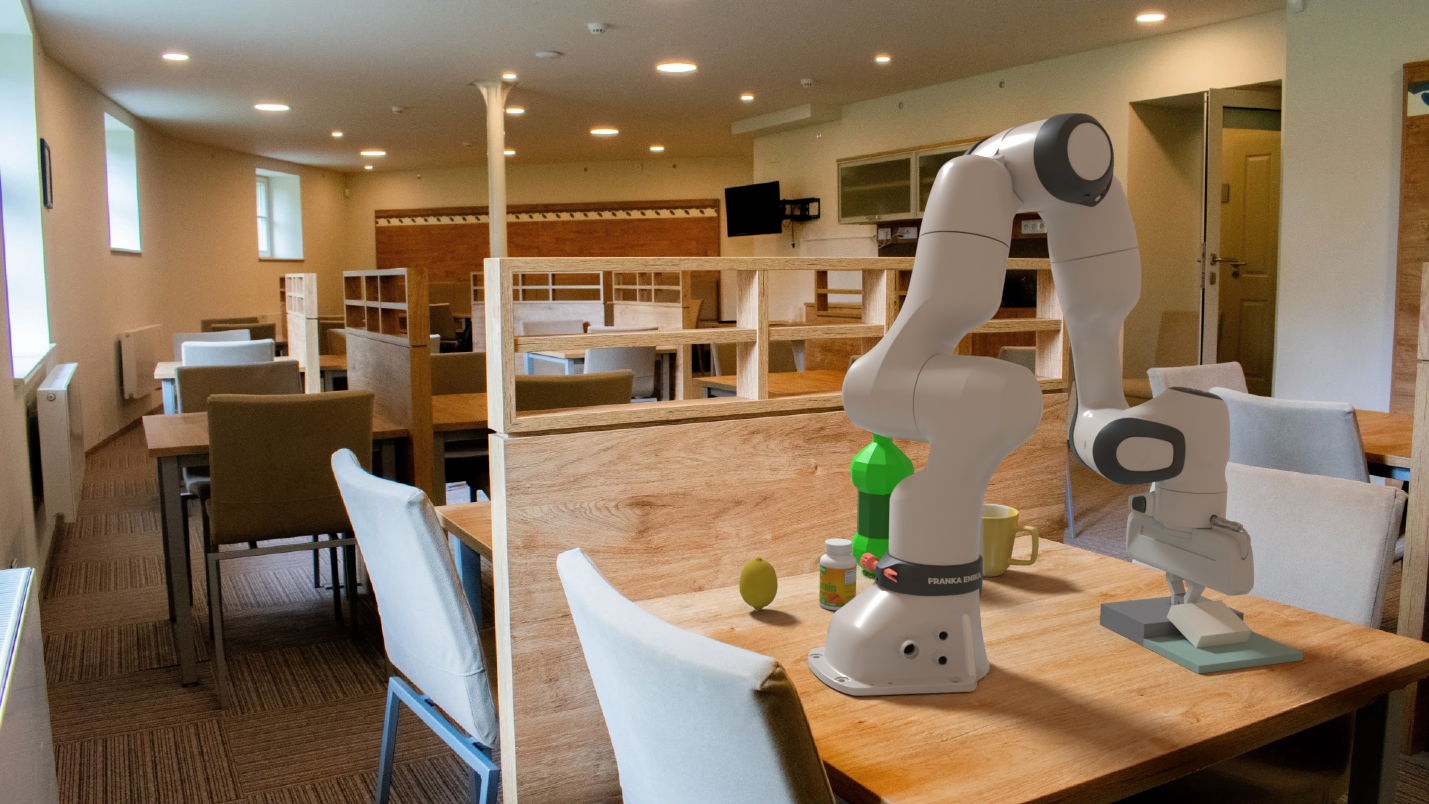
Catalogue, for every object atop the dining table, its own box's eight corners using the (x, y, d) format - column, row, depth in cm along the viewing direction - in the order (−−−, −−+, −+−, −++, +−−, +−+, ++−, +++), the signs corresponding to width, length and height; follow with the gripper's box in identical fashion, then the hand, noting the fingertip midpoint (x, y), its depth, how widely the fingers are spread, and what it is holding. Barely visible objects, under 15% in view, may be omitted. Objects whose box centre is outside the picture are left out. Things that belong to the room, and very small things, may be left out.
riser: (1143, 646, 137) (1144, 624, 136) (1099, 624, 145) (1100, 603, 145) (1242, 634, 141) (1243, 613, 141) (1194, 614, 150) (1195, 593, 149)
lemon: (755, 619, 147) (755, 564, 146) (731, 609, 152) (731, 556, 151) (785, 612, 150) (785, 558, 150) (761, 602, 155) (761, 550, 154)
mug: (940, 570, 172) (941, 508, 170) (977, 560, 178) (979, 500, 177) (1011, 590, 161) (1013, 524, 160) (1048, 578, 168) (1050, 514, 167)
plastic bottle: (905, 562, 177) (908, 417, 174) (915, 580, 166) (919, 426, 163) (846, 561, 177) (848, 416, 174) (852, 579, 167) (855, 425, 164)
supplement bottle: (811, 605, 154) (812, 541, 153) (835, 597, 157) (836, 535, 156) (838, 614, 150) (839, 548, 149) (863, 606, 153) (864, 542, 152)
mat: (1198, 673, 127) (1198, 665, 127) (1143, 646, 137) (1143, 638, 137) (1302, 660, 132) (1303, 652, 132) (1242, 634, 141) (1242, 627, 141)
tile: (1195, 648, 133) (1201, 636, 132) (1166, 617, 138) (1171, 605, 137) (1246, 641, 135) (1252, 630, 134) (1215, 611, 140) (1221, 600, 139)
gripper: (1270, 524, 130) (1263, 631, 132) (1157, 492, 149) (1152, 585, 151) (1229, 527, 128) (1222, 636, 130) (1119, 494, 147) (1115, 589, 149)
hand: (1183, 608), depth 140 cm, fingers closed
